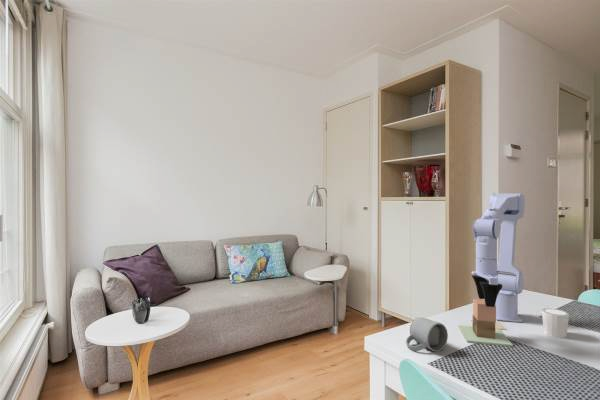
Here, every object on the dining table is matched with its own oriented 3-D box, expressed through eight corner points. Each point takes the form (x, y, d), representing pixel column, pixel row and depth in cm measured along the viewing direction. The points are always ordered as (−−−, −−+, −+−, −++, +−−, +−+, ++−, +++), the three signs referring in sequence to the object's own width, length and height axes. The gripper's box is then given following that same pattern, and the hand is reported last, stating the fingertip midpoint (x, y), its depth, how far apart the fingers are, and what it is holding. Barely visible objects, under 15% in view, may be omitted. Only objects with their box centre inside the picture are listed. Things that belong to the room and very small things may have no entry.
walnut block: (472, 330, 105) (472, 314, 105) (490, 331, 104) (490, 316, 104) (476, 336, 100) (476, 320, 100) (495, 338, 99) (495, 321, 99)
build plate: (458, 326, 109) (458, 325, 109) (498, 330, 106) (498, 328, 106) (467, 342, 98) (467, 340, 98) (513, 346, 95) (513, 344, 95)
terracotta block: (473, 314, 105) (473, 298, 105) (490, 316, 104) (490, 300, 104) (477, 320, 100) (477, 303, 100) (496, 321, 99) (496, 305, 99)
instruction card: (471, 320, 115) (471, 319, 115) (500, 323, 113) (500, 322, 113) (475, 327, 109) (475, 326, 109) (506, 329, 107) (506, 328, 107)
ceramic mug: (426, 337, 101) (426, 312, 101) (448, 348, 94) (448, 321, 93) (399, 345, 97) (398, 318, 96) (420, 357, 89) (419, 328, 89)
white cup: (558, 339, 99) (558, 316, 99) (536, 331, 106) (536, 309, 106) (575, 337, 101) (575, 314, 101) (552, 328, 108) (552, 307, 108)
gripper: (466, 253, 110) (466, 294, 110) (478, 262, 96) (478, 309, 96) (490, 254, 108) (490, 296, 108) (505, 263, 94) (505, 311, 94)
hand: (486, 302), depth 102 cm, fingers open, 7 cm apart
